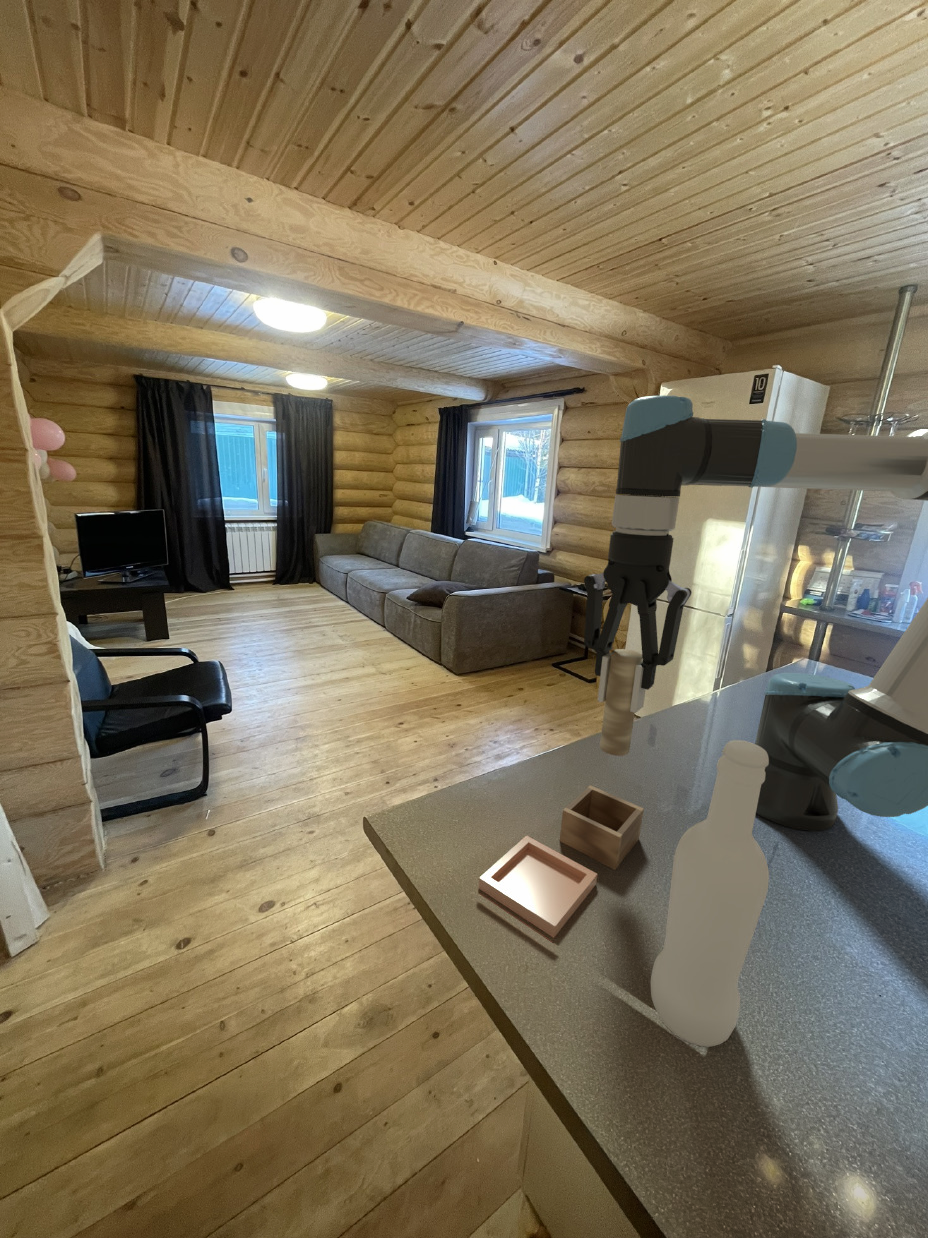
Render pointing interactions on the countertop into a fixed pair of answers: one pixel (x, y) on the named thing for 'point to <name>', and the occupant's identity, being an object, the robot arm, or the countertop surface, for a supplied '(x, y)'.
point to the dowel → (619, 702)
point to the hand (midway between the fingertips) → (620, 703)
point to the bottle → (713, 905)
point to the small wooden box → (601, 826)
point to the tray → (538, 885)
